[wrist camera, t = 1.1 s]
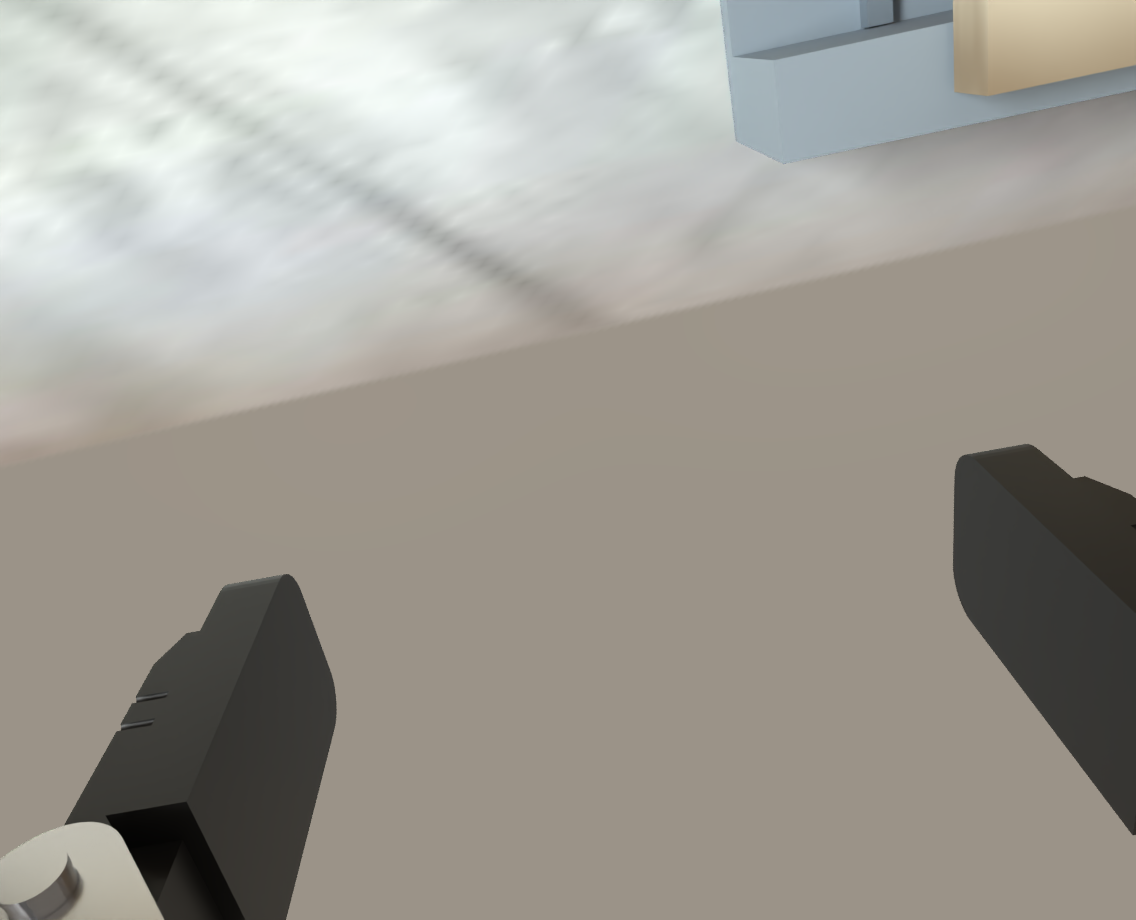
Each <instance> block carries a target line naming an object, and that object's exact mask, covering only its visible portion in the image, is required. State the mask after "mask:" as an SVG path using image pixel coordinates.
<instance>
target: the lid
mask: <svg viewBox="0 0 1136 920" xmlns="http://www.w3.org/2000/svg"><path fill="white" fill-rule="evenodd" d="M953 40H954V92H958V93H966V94H974V95H982V96H991V95H996V94H1001V93H1005V92H1010V91H1015V90H1020V89H1024V88H1029V87H1034V86H1038V85H1043V84H1048V83H1053V82H1057V81H1062V80H1067V79H1072V78H1076V77H1081V76H1086V75H1091V74H1095V73H1100V72H1105V71H1110V70H1114V69H1119V68H1124V67H1128V66H1133V65H1136V0H953Z"/></svg>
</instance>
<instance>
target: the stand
mask: <svg viewBox="0 0 1136 920" xmlns="http://www.w3.org/2000/svg"><path fill="white" fill-rule="evenodd" d="M720 3H721V12H722V21H723V29H724V38H725V47H726V56H727V65H728V74H729V83H730V92H731V101H732V109H733V118H734V127H735V136H736V141H737V142H739V143H741V144H743V145H745V146H747V147H749V148H751V149H753V150H755V151H758V152H760V153H762V154H764V155H766V156H768V157H770V158H772V159H774V160H776V161H778V162H780V163H783V164H786V163H791V162H795V161H800V160H805V159H810V158H814V157H819V156H824V155H829V154H833V153H838V152H843V151H848V150H853V149H857V148H862V147H867V146H872V145H876V144H881V143H886V142H891V141H895V140H900V139H905V138H910V137H914V136H919V135H924V134H929V133H933V132H938V131H943V130H948V129H952V128H957V127H962V126H967V125H972V124H976V123H981V122H986V121H991V120H995V119H1000V118H1005V117H1010V116H1014V115H1019V114H1024V113H1029V112H1033V111H1038V110H1043V109H1048V108H1052V107H1057V106H1062V105H1067V104H1072V103H1076V102H1081V101H1086V100H1091V99H1095V98H1100V97H1105V96H1110V95H1114V94H1119V93H1124V92H1129V91H1133V90H1136V65H1133V66H1128V67H1124V68H1119V69H1114V70H1110V71H1105V72H1100V73H1095V74H1091V75H1086V76H1081V77H1076V78H1072V79H1067V80H1062V81H1057V82H1053V83H1048V84H1043V85H1038V86H1034V87H1029V88H1024V89H1020V90H1015V91H1010V92H1005V93H1001V94H996V95H991V96H982V95H974V94H966V93H958V92H954V40H953V0H720Z"/></svg>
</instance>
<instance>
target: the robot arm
mask: <svg viewBox="0 0 1136 920" xmlns="http://www.w3.org/2000/svg"><path fill="white" fill-rule="evenodd" d="M953 572H954V579H955V585H956V589H957V592H958V596H959V599H960V601H961V604H962V606H963V608H964V610H965V612H966V614H967V616H968V618H969V619H970V620H971V622H972V623H973V624H974V626H975V627H976V629H977V630H978V631H979V632H980V634H981V635H982V636H983V638H984V639H985V640H986V642H987V643H988V644H989V646H990V647H991V648H992V650H993V651H994V652H995V654H996V655H997V656H998V658H999V659H1000V660H1001V662H1002V663H1003V664H1004V666H1005V667H1006V668H1007V669H1008V671H1009V672H1010V673H1011V675H1012V676H1013V677H1014V679H1015V680H1016V681H1017V683H1018V684H1019V685H1020V687H1021V688H1022V689H1023V691H1024V692H1025V693H1026V695H1027V696H1028V697H1029V699H1030V700H1031V701H1032V703H1033V704H1034V705H1035V706H1036V708H1037V709H1038V711H1040V713H1041V714H1042V716H1043V717H1044V718H1045V720H1046V721H1047V722H1048V724H1049V725H1050V726H1051V728H1052V729H1053V730H1054V732H1055V733H1056V734H1057V736H1058V737H1059V738H1060V740H1061V741H1062V742H1063V744H1064V745H1065V746H1066V748H1067V749H1068V750H1069V752H1070V753H1071V754H1072V755H1073V757H1074V758H1075V759H1076V761H1077V762H1078V763H1079V765H1080V766H1081V767H1082V769H1083V770H1084V771H1085V773H1086V774H1087V775H1088V777H1089V778H1090V779H1091V780H1092V782H1093V783H1094V784H1095V786H1096V787H1097V789H1098V790H1099V791H1100V793H1101V794H1102V795H1103V797H1104V798H1105V799H1106V800H1107V802H1108V803H1109V804H1110V806H1111V807H1112V808H1113V810H1114V811H1115V812H1116V814H1117V815H1118V816H1119V818H1120V819H1121V820H1122V822H1123V823H1124V824H1125V826H1126V827H1127V828H1128V830H1129V831H1130V832H1131V833H1132V835H1136V498H1134V497H1133V496H1132V495H1130V494H1128V493H1126V492H1123V491H1121V490H1118V489H1115V488H1113V487H1110V486H1108V485H1105V484H1103V483H1100V482H1098V481H1095V480H1093V479H1090V478H1088V477H1085V476H1084V477H1079V478H1072V477H1071V476H1070V475H1069V474H1067V473H1066V472H1065V471H1064V470H1063V469H1061V468H1060V467H1059V466H1058V465H1057V464H1055V463H1054V462H1053V461H1052V460H1050V459H1049V458H1048V457H1047V456H1046V455H1044V454H1043V453H1042V452H1041V451H1040V450H1038V449H1037V448H1036V447H1034V446H1032V445H1029V444H1023V445H1018V446H1012V447H1007V448H1001V449H995V450H990V451H984V452H978V453H973V454H967V455H964V456H962V457H961V458H959V460H958V462H957V465H956V469H955V487H954V543H953ZM136 699H137V702H136V703H133V704H132V705H131V707H130V708H129V710H128V712H127V714H126V715H125V717H124V719H123V721H122V723H121V731H117V732H116V733H115V735H114V737H113V739H112V741H111V742H110V744H109V746H108V748H107V750H106V752H105V753H104V755H103V757H102V758H101V761H100V762H99V764H98V766H97V767H96V769H95V771H94V773H93V775H92V776H91V778H90V780H89V782H88V784H87V785H86V787H85V789H84V791H83V793H82V794H81V796H80V798H79V800H78V801H77V803H76V805H75V807H74V809H73V810H72V812H71V814H70V816H69V818H68V819H67V821H66V823H65V825H64V826H62V827H59V828H55V829H52V830H50V831H47V832H45V833H43V834H40V835H38V836H36V837H34V838H33V839H31V840H29V841H27V842H25V843H23V844H22V845H20V846H19V847H17V848H15V849H14V850H12V851H11V852H9V853H8V854H7V855H5V856H4V857H3V858H1V859H0V920H286V917H287V913H288V909H289V905H290V901H291V897H292V893H293V890H294V886H295V882H296V878H297V874H298V870H299V866H300V862H301V858H302V854H303V850H304V846H305V842H306V838H307V835H308V831H309V827H310V823H311V819H312V815H313V810H314V807H315V803H316V799H317V795H318V791H319V787H320V783H321V779H322V775H323V771H324V768H325V764H326V760H327V755H328V752H329V748H330V744H331V740H332V736H333V732H334V728H335V723H336V694H335V687H334V682H333V678H332V675H331V672H330V669H329V666H328V663H327V661H326V658H325V655H324V652H323V650H322V647H321V644H320V642H319V639H318V636H317V634H316V631H315V628H314V625H313V622H312V620H311V617H310V615H309V612H308V609H307V606H306V603H305V601H304V598H303V595H302V593H301V590H300V588H299V586H298V584H297V582H296V581H295V579H294V578H293V577H292V576H290V575H289V574H284V575H279V576H273V577H267V578H262V579H256V580H251V581H245V582H239V583H234V584H228V585H226V586H224V587H223V588H222V590H221V591H220V593H219V595H218V597H217V599H216V601H215V603H214V605H213V607H212V609H211V611H210V613H209V615H208V617H207V618H206V621H205V622H204V624H203V627H202V628H201V630H200V631H197V632H191V633H187V634H185V636H183V637H182V638H181V640H179V641H178V642H177V643H176V644H175V645H174V646H173V647H172V648H171V649H170V650H169V651H168V652H167V653H165V654H164V655H163V657H161V658H160V659H159V660H158V661H157V662H156V663H155V664H154V666H153V667H152V669H151V671H150V673H149V674H148V676H147V678H146V680H145V681H144V683H143V685H142V687H141V689H140V690H139V692H138V694H137V696H136Z"/></svg>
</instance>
